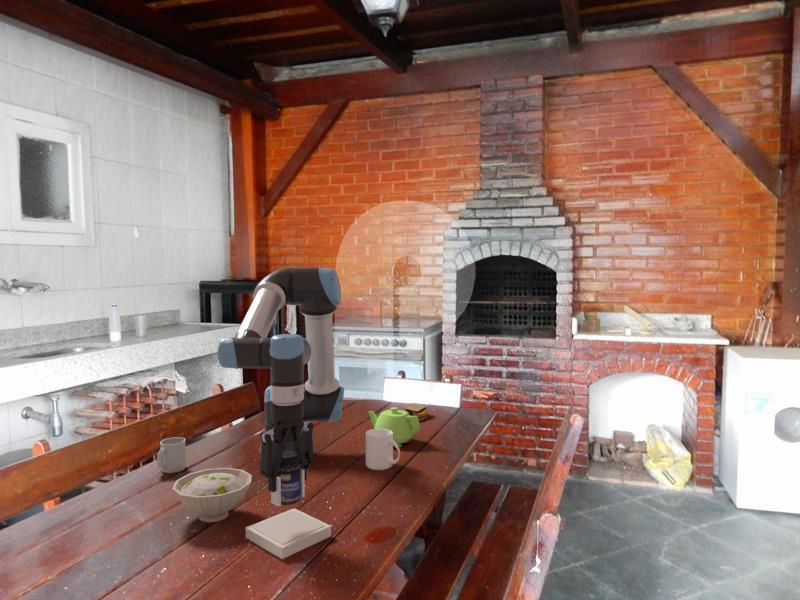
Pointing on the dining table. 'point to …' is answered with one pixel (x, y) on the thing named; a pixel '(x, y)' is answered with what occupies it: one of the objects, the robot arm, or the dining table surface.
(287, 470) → the pill bottle
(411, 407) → the toy sandwich meal
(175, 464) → the cup
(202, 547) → the dining table surface
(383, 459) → the mug
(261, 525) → the square plate
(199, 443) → the dining table surface
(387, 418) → the teapot
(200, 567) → the dining table surface
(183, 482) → the bowl
